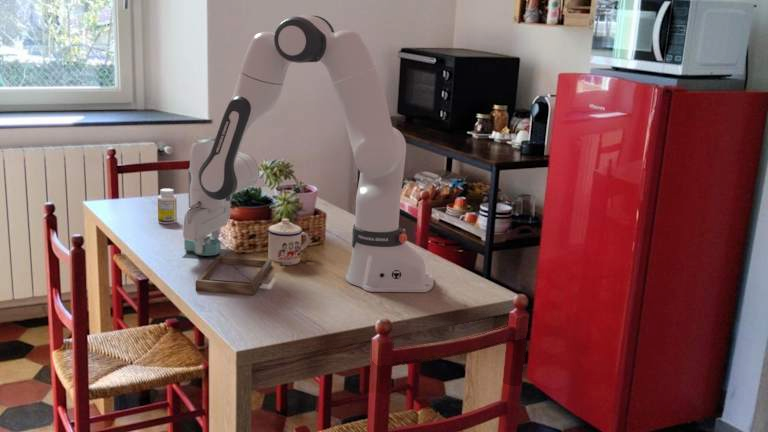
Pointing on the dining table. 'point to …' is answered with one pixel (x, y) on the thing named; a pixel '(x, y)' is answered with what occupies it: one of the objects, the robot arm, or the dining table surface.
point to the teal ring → (205, 247)
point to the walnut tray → (232, 286)
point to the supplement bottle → (167, 207)
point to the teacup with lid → (286, 242)
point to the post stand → (211, 257)
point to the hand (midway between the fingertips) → (207, 248)
